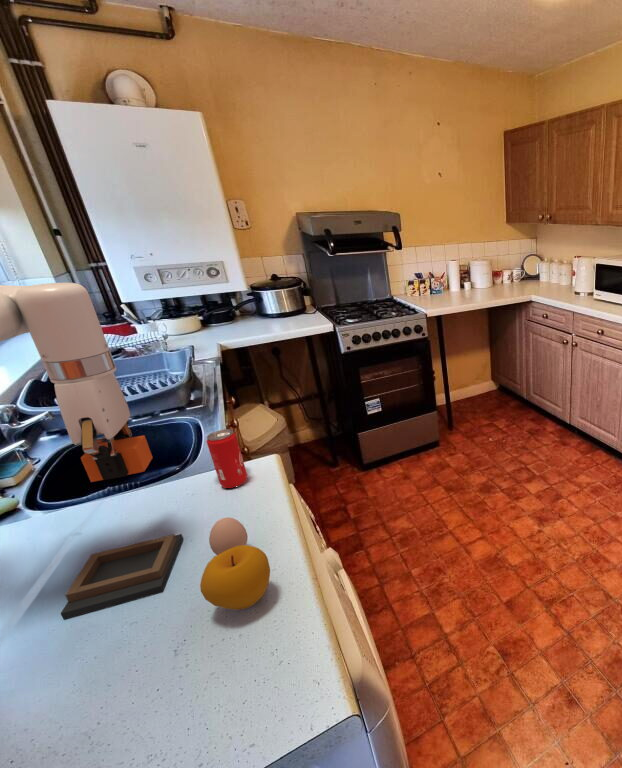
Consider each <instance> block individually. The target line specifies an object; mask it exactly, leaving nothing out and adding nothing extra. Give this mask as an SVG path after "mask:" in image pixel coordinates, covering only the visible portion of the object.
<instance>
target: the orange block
mask: <svg viewBox="0 0 622 768" xmlns="http://www.w3.org/2000/svg"><path fill="white" fill-rule="evenodd" d="M131 437H132V438H131ZM131 437H128V438H126V439H120V440H114V441H115V445H116V449H117V453H121V455H122V457H123V460H124V462H125V465H126V467H127V470H128V474H127V476H128V475H135V474H139V473H143V472H145V471H146V470H147V468H148V467H149V465H150V463H151V461H152V460H153V458H154V457H153V455H152V451H151V449H150V446H149V443H148V440H147V438H146V435H144V434H143V435H138V436H131ZM98 444H99V445H100V446H103V445H104V446H106V447H108V444H107V442H101V443H98ZM80 461H81V463H82V465H83V468H84V470H85V472H86V474H87V477H88V478H89V481H90V483H94V482H99V481H105V480H104V479H103V478H102V476H101V474H100V471H99V469H98V467H97V464H96V462H95V460H93V459H92V456H91V455H90V454H88V453H85V452H84V454H82V456H81V457H80Z"/></svg>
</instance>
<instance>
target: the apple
mask: <svg viewBox="0 0 622 768" xmlns="http://www.w3.org/2000/svg"><path fill="white" fill-rule="evenodd" d="M270 577H271V567H270V562H269V559H268V556H267V554H266V553H265V552H264V551H263V550H262V549H260V548H259V547H256V546H252V545H247V544H246V545H241V546H236V547H233V548H231V549H228V550H226V551H224V552H222V553H220V554H219V555H215V556H213V557H212V559H211V560H210V561H209V562H207V564H206V565H205V568H204V570H203V573H202V576H201V579H200V593H201V594H202V596H203V598H204V599H205V601H207V602H209V603H210V604H211V605H213V606H214V607H219V608H223V609H226V610H227V609H228V610H233V611H234V610H236V611H237V610H238V611H240V610H245V609H248V608H251V607H252V606H254V605H255V604H256V603H257V602H258V601H260V600H261V598H262V597H263V596H264V595H265V593H266V591H267V588H268V586H269V582H270V579H271V578H270Z"/></svg>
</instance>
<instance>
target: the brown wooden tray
mask: <svg viewBox="0 0 622 768" xmlns="http://www.w3.org/2000/svg"><path fill="white" fill-rule="evenodd" d="M183 542H184V536H183V534H182V533H179V534H174V533H173V534H169V535H165V536H160V537H155V538H152V539H147V540H144V541H141V542H136V543H132V544H128V545H124V546H120V547H115V548H112V549H107V550H103V551H99V552H95V553H92V554H91V555H90V557H88V559H87V561H86V562H85V564H84V565H83V567H82V569H81V570H80V571H79V573H78V575H77V576H76V578H75V580H74V581H73V583H71V586H70V587H69V589H68V590H67V592H66V594H65V598H66V600H67V603H66V604H65V606H64V607H63V609H62V610H61V611H60V616H61V618H62V619H63V620H67V619H71V618H74V617H78V616H81V615H85V614H88V613H93V612H95V611H100V610H102V609H106V608H109V607H114V606H117V605H120V604H124V603H127V602H131V601H135V600H138V599H143V598H146V597H149V596H153V595H156V594H159V593H163V592H164V590H165V588H166V585H167V583H168V580H169V577H170V575H171V572H172V570H173V567H174V565H175V562H176V559H177V557H178V554H179V551H180V549H181V547H182V545H183Z"/></svg>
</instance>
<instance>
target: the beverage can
mask: <svg viewBox="0 0 622 768" xmlns="http://www.w3.org/2000/svg"><path fill="white" fill-rule="evenodd" d="M206 444H207V448H208V451H209V455H210V457H211V461H212V463H213V466H214V470H215V472H216V476H217V479H218V482H219V484H220V486H222V488H224V487H225V488H233V487H236V486H239V485H241V484H243V483H244V482H245V481H246V482H247V479H248V472H247V469H246V466H245V462H244V459H243V455H242V452H241V451H242V450H241V447H240V445H239V441H238V437H237V434H236V433H235V432H234V430H233V429H231V428H230V429H229V428H224V429H219V430H216V431H213V432H211V433H209V434H208V435H207V436H206ZM246 482H245V483H246ZM245 483H244V484H245ZM244 484H243V485H244ZM241 486H242V485H241ZM239 487H240V486H239ZM225 488H224V489H225ZM233 489H234V488H233Z"/></svg>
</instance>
